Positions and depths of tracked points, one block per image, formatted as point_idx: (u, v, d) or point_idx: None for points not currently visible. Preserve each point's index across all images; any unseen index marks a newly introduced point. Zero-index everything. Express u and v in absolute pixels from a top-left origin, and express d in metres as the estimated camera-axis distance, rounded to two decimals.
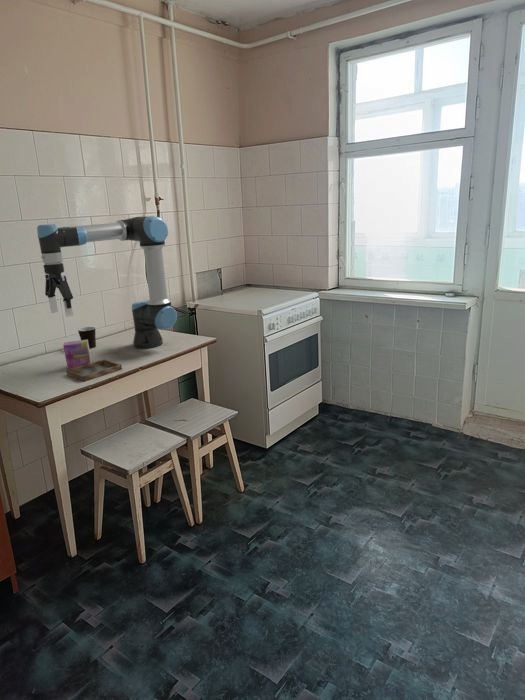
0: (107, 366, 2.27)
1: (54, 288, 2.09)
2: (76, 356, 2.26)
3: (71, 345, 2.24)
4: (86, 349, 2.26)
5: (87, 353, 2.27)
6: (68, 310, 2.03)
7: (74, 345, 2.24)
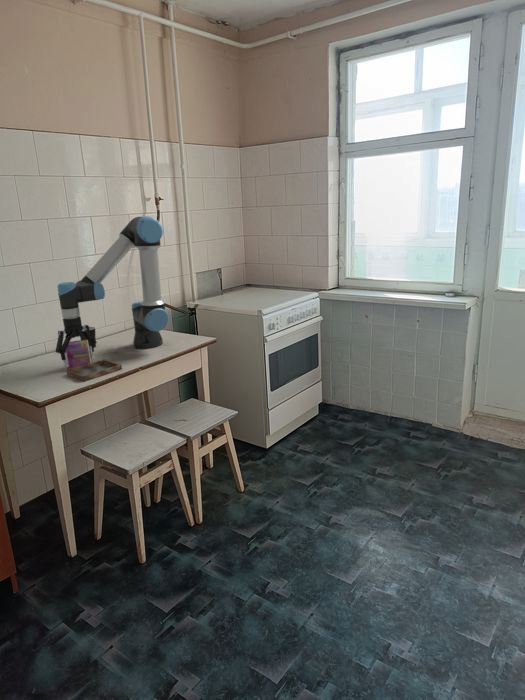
0: (107, 366, 2.27)
1: (83, 338, 2.29)
2: (76, 356, 2.26)
3: (71, 345, 2.24)
4: (86, 349, 2.26)
5: (87, 353, 2.27)
6: (64, 361, 2.24)
7: (74, 345, 2.24)
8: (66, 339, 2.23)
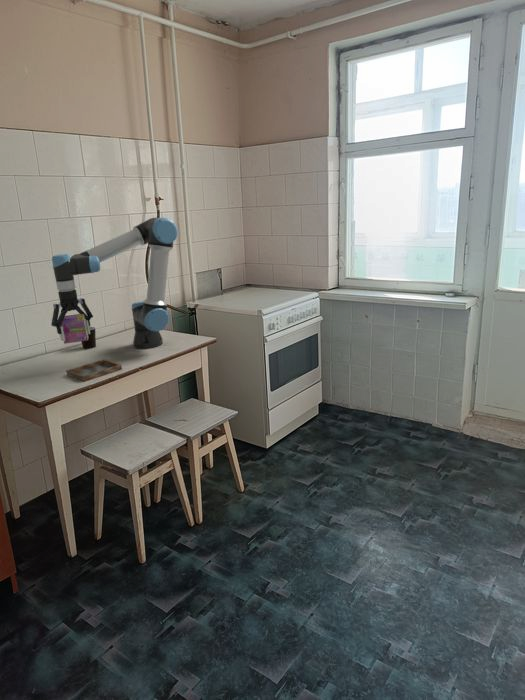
0: (107, 366, 2.27)
1: (79, 312, 2.25)
2: (73, 329, 2.22)
3: (67, 318, 2.20)
4: (82, 323, 2.23)
5: (83, 327, 2.23)
6: (61, 335, 2.21)
7: (70, 318, 2.21)
8: (62, 312, 2.19)
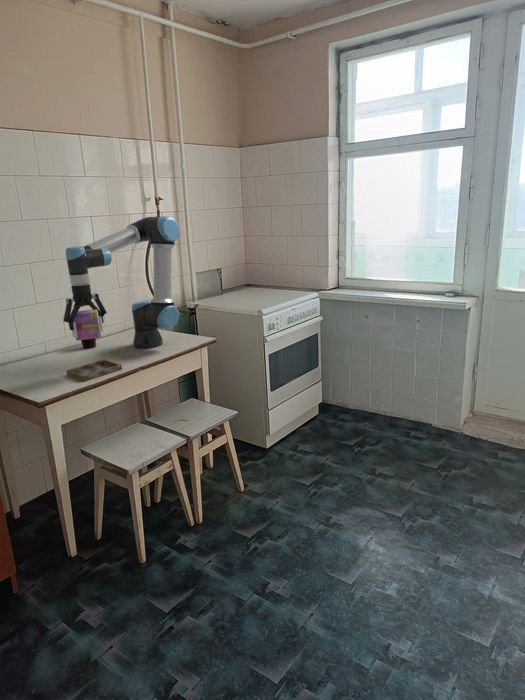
0: (107, 366, 2.27)
1: (93, 308, 2.15)
2: (85, 326, 2.12)
3: (80, 314, 2.10)
4: (96, 319, 2.12)
5: (97, 323, 2.13)
6: (73, 331, 2.10)
7: (83, 314, 2.10)
8: (75, 308, 2.09)
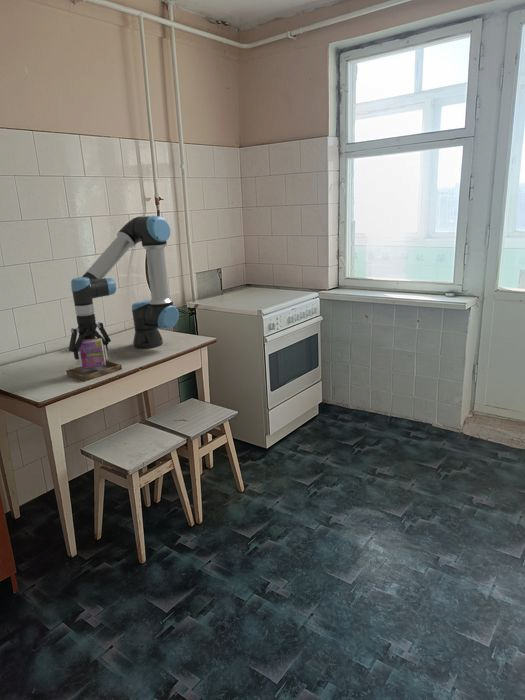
0: (107, 366, 2.27)
1: (97, 336, 2.18)
2: (90, 355, 2.15)
3: (85, 343, 2.13)
4: (100, 348, 2.16)
5: (101, 352, 2.16)
6: (78, 360, 2.14)
7: (88, 343, 2.14)
8: (79, 337, 2.13)
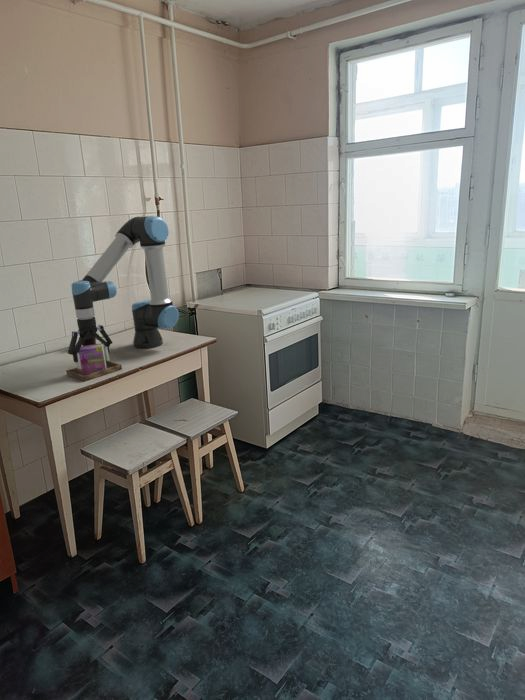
0: (107, 366, 2.27)
1: (99, 339, 2.19)
2: (91, 360, 2.16)
3: (86, 349, 2.14)
4: (101, 353, 2.16)
5: (102, 358, 2.17)
6: (77, 363, 2.14)
7: (89, 349, 2.14)
8: (79, 340, 2.13)
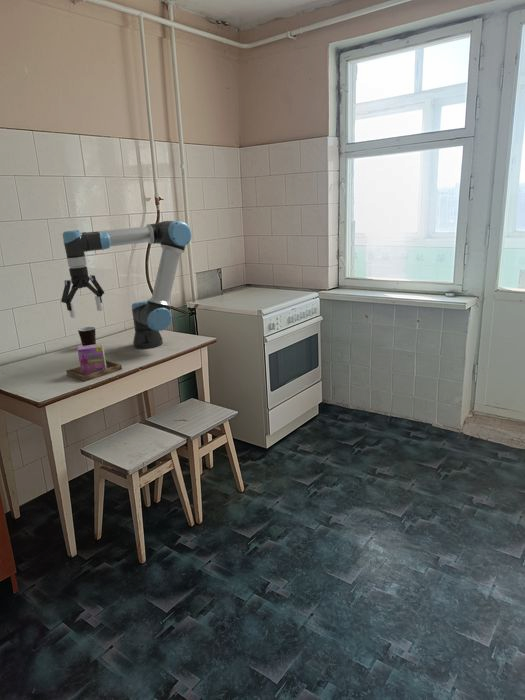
0: (107, 366, 2.27)
1: (91, 289, 2.23)
2: (91, 360, 2.16)
3: (86, 349, 2.14)
4: (101, 353, 2.16)
5: (102, 358, 2.17)
6: (70, 312, 2.18)
7: (89, 349, 2.14)
8: (72, 289, 2.17)
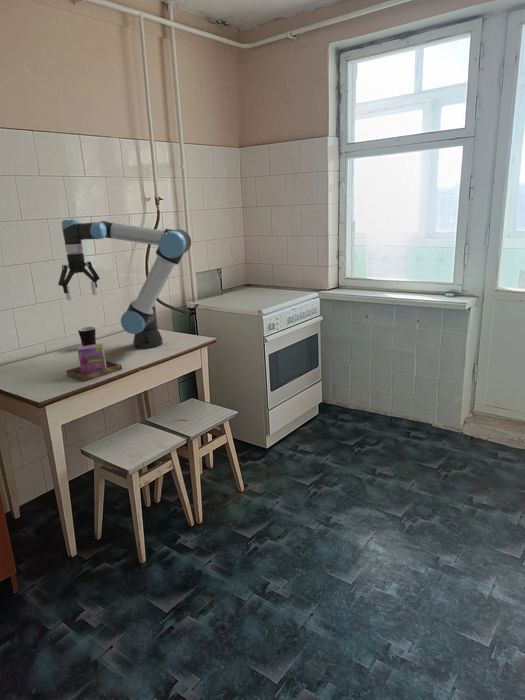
0: (107, 366, 2.27)
1: (87, 274, 2.40)
2: (91, 360, 2.16)
3: (86, 349, 2.14)
4: (101, 353, 2.16)
5: (102, 358, 2.17)
6: (67, 294, 2.35)
7: (89, 349, 2.14)
8: (69, 273, 2.34)
